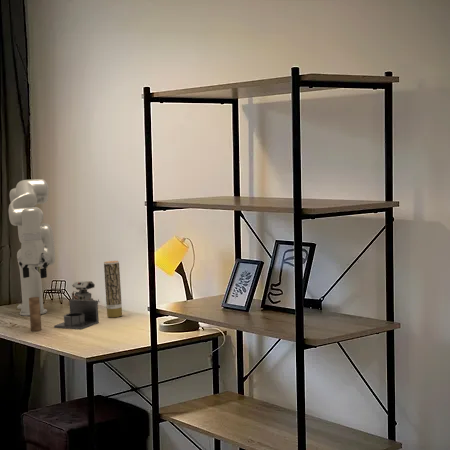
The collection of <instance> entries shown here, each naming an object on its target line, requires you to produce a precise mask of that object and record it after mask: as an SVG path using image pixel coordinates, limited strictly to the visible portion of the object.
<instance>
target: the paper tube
mask: <svg viewBox="0 0 450 450" xmlns="http://www.w3.org/2000/svg"><path fill="white" fill-rule="evenodd" d="M103 269H104V270H103V271H104V286H105V287H104V288H105V289H104V290H105V301H106V302H105V304H106V316H107V317H108V318H114V319H115V318H120V317H122V315H123V304H122V290H121V289H122V287H121V275H120V274H121V273H120V271H121V270H120V261H119V260H108V261H104V262H103Z"/></svg>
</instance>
